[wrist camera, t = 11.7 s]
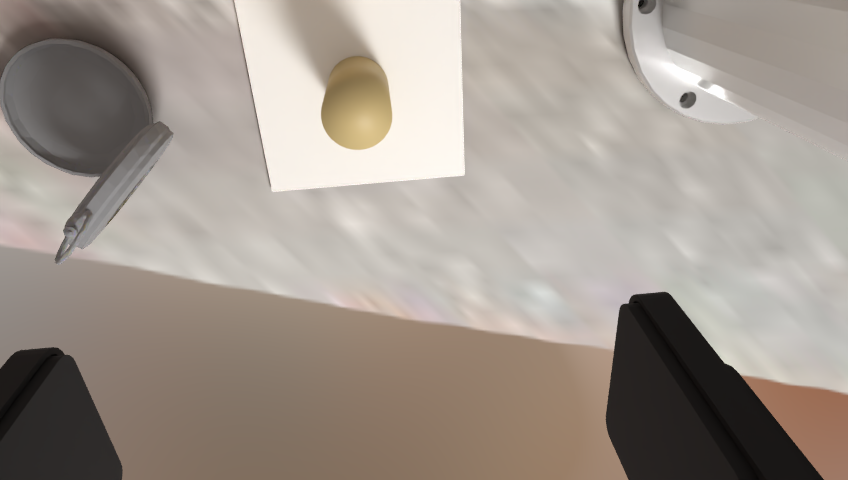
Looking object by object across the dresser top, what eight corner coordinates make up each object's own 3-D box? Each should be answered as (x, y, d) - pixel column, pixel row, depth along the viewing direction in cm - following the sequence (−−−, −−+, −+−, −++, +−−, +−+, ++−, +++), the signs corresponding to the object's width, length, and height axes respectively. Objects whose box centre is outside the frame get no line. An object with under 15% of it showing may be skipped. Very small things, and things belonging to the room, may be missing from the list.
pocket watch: (-1, 25, 27) (-182, 76, 18) (192, 53, 28) (112, 113, 19) (26, 189, 30) (-112, 298, 22) (195, 207, 32) (130, 316, 23)
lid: (456, -37, 27) (477, -28, 22) (462, 169, 32) (480, 215, 27) (233, -21, 27) (202, -9, 22) (274, 185, 32) (256, 235, 27)
